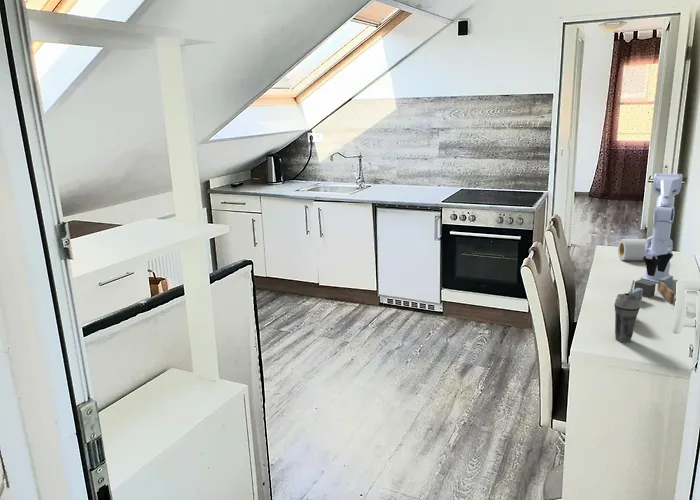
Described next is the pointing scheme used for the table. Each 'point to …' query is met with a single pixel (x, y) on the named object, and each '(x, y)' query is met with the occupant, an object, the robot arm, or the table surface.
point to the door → (666, 292)
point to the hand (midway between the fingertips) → (655, 273)
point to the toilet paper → (632, 249)
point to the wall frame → (665, 280)
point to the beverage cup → (625, 316)
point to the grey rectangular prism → (646, 287)
